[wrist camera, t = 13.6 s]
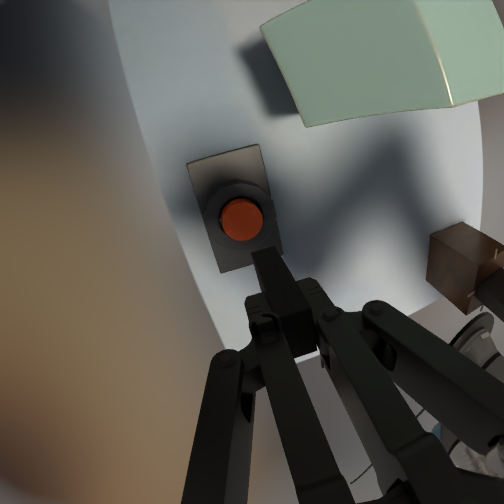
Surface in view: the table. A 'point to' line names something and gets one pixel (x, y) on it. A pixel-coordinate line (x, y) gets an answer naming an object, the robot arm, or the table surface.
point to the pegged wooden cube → (462, 263)
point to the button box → (230, 188)
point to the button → (241, 219)
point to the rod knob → (493, 293)
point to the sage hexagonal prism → (386, 55)
